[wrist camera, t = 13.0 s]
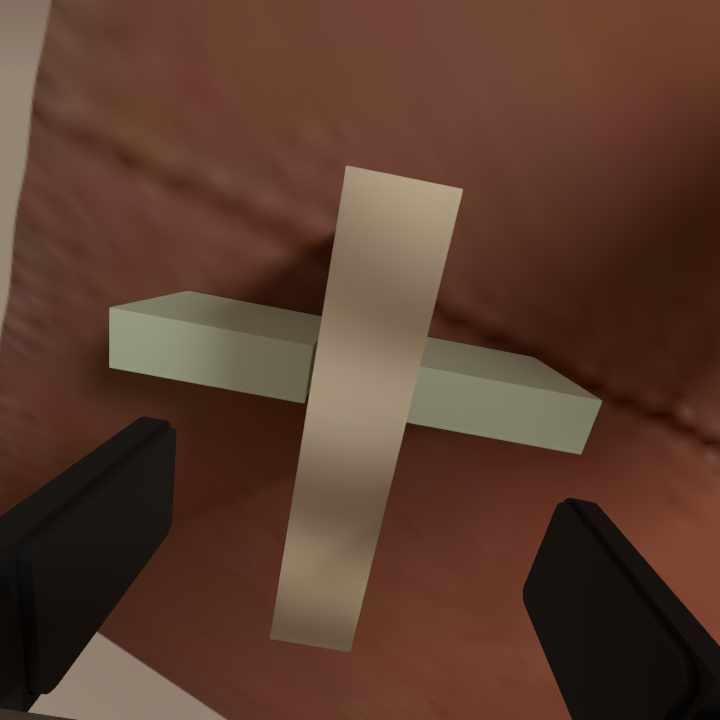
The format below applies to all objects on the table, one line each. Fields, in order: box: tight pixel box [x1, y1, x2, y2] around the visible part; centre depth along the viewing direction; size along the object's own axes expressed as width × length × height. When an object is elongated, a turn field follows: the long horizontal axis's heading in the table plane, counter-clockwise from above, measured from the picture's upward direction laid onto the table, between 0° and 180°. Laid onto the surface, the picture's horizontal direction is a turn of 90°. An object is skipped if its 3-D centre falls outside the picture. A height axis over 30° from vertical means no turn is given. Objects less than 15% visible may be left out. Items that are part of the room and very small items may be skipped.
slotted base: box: [109, 291, 602, 455], centre depth 22 cm, size 24×3×8 cm, turn 79°
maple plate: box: [270, 165, 463, 652], centre depth 19 cm, size 16×3×15 cm, turn 169°
